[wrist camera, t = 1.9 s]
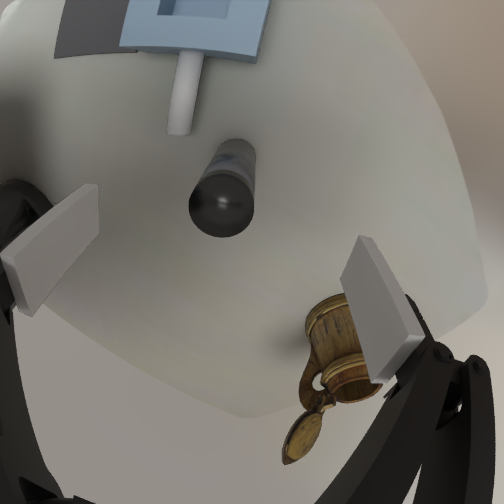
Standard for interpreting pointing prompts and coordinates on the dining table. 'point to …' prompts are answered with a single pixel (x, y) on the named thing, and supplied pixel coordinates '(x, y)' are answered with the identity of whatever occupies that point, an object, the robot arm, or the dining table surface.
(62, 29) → the mat
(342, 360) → the wooden mug
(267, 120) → the dining table surface
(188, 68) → the block
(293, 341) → the dining table surface
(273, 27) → the dining table surface
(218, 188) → the bottle
